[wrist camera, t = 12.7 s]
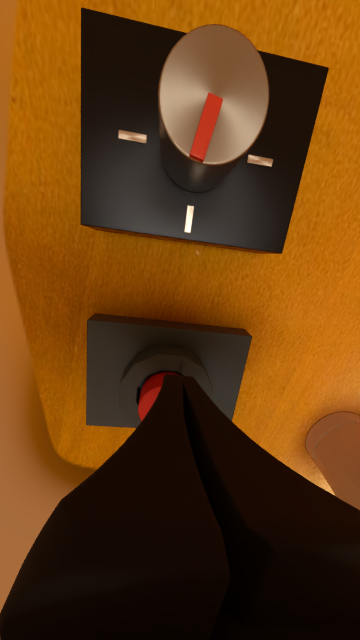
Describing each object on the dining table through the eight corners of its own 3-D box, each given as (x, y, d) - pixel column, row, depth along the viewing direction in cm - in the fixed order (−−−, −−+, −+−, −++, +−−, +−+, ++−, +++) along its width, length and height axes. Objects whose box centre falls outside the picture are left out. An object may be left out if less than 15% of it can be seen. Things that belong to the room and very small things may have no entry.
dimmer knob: (174, 87, 11) (180, -15, 7) (247, 123, 11) (294, 49, 7) (150, 175, 12) (143, 135, 8) (218, 203, 12) (245, 179, 8)
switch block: (92, 410, 19) (77, 443, 16) (94, 313, 17) (77, 328, 13) (223, 418, 21) (235, 450, 17) (244, 328, 18) (262, 346, 15)
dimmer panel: (96, 229, 15) (79, 224, 12) (99, 62, 13) (79, 2, 10) (261, 253, 16) (283, 253, 13) (295, 105, 14) (331, 64, 11)
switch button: (139, 412, 16) (135, 431, 14) (143, 369, 15) (140, 383, 13) (187, 415, 16) (189, 434, 15) (194, 373, 15) (197, 388, 14)
